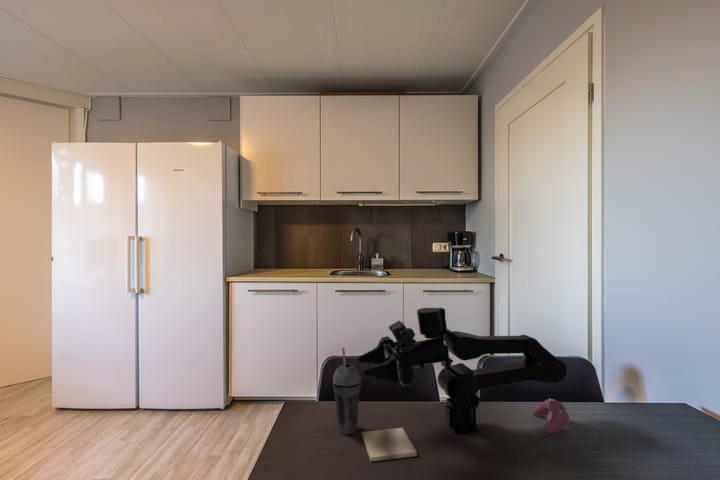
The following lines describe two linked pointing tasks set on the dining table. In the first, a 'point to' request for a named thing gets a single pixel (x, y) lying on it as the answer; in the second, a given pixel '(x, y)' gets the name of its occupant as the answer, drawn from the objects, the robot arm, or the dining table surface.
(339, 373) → the beverage cup
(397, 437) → the coaster board
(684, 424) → the dining table surface
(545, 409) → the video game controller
